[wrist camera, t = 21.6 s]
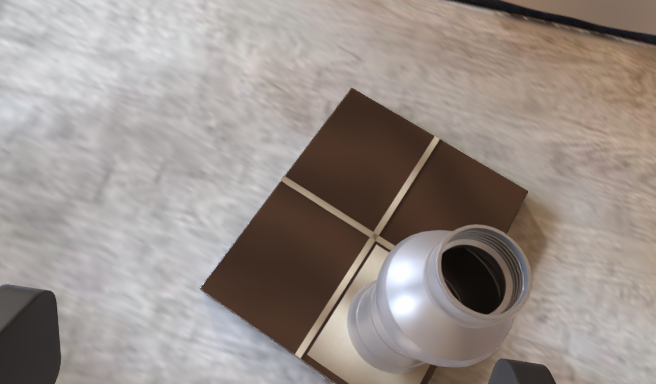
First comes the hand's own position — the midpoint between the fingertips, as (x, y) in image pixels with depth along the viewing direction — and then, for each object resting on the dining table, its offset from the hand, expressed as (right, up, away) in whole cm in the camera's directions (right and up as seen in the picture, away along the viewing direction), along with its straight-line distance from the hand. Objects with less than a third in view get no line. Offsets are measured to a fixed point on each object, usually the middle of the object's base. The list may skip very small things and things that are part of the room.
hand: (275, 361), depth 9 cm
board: (+5, -1, +32) cm, 32 cm away
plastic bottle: (+5, -7, +28) cm, 30 cm away
